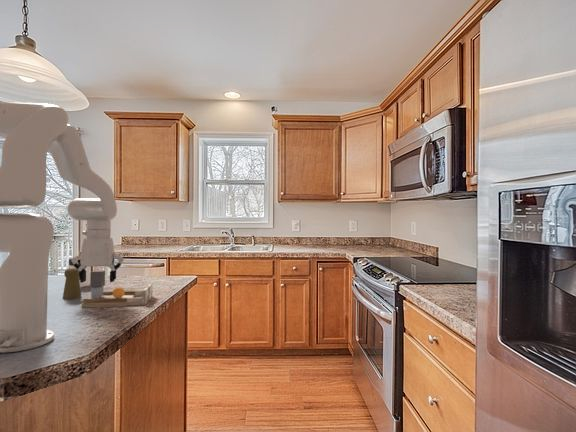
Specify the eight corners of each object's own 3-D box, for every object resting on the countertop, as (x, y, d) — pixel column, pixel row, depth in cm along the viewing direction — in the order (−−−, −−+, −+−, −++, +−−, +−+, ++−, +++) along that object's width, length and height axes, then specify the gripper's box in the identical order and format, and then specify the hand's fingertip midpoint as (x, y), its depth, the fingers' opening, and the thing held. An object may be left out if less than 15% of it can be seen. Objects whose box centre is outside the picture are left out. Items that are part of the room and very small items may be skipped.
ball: (122, 299, 120) (122, 288, 120) (110, 299, 119) (110, 288, 119) (125, 296, 124) (126, 285, 124) (114, 296, 123) (114, 286, 123)
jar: (81, 283, 152) (82, 256, 152) (95, 284, 149) (95, 257, 149) (62, 286, 144) (63, 259, 144) (76, 288, 141) (76, 260, 141)
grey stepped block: (99, 299, 117) (99, 273, 117) (88, 300, 117) (88, 273, 117) (106, 295, 124) (106, 269, 124) (95, 295, 123) (96, 269, 123)
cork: (72, 299, 122) (72, 269, 122) (58, 298, 124) (58, 269, 124) (85, 296, 128) (85, 267, 128) (71, 295, 130) (72, 266, 130)
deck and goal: (144, 305, 117) (144, 291, 117) (81, 307, 113) (81, 292, 113) (152, 296, 131) (153, 283, 131) (97, 297, 127) (97, 284, 127)
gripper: (67, 234, 115) (66, 284, 115) (121, 235, 118) (120, 283, 118) (76, 233, 122) (75, 280, 122) (127, 233, 126) (126, 279, 126)
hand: (97, 281), depth 120 cm, fingers open, 9 cm apart
